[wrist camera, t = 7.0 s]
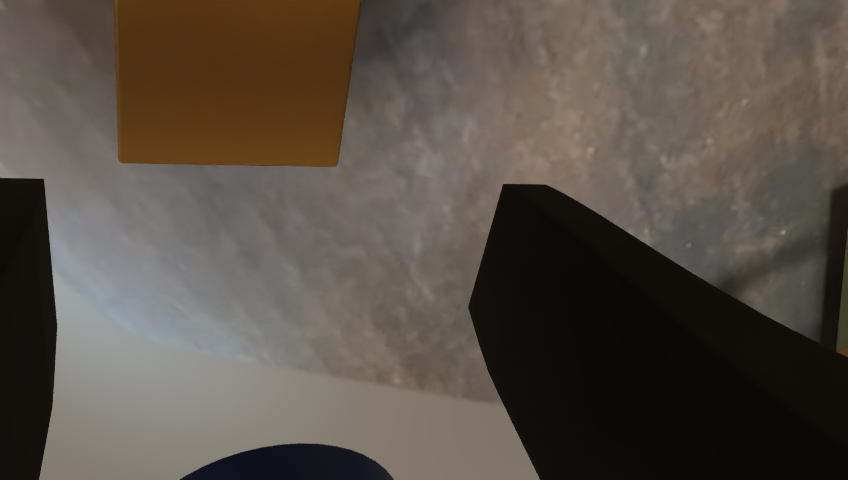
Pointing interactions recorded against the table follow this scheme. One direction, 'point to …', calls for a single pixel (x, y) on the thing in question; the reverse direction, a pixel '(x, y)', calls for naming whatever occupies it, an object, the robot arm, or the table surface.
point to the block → (233, 80)
